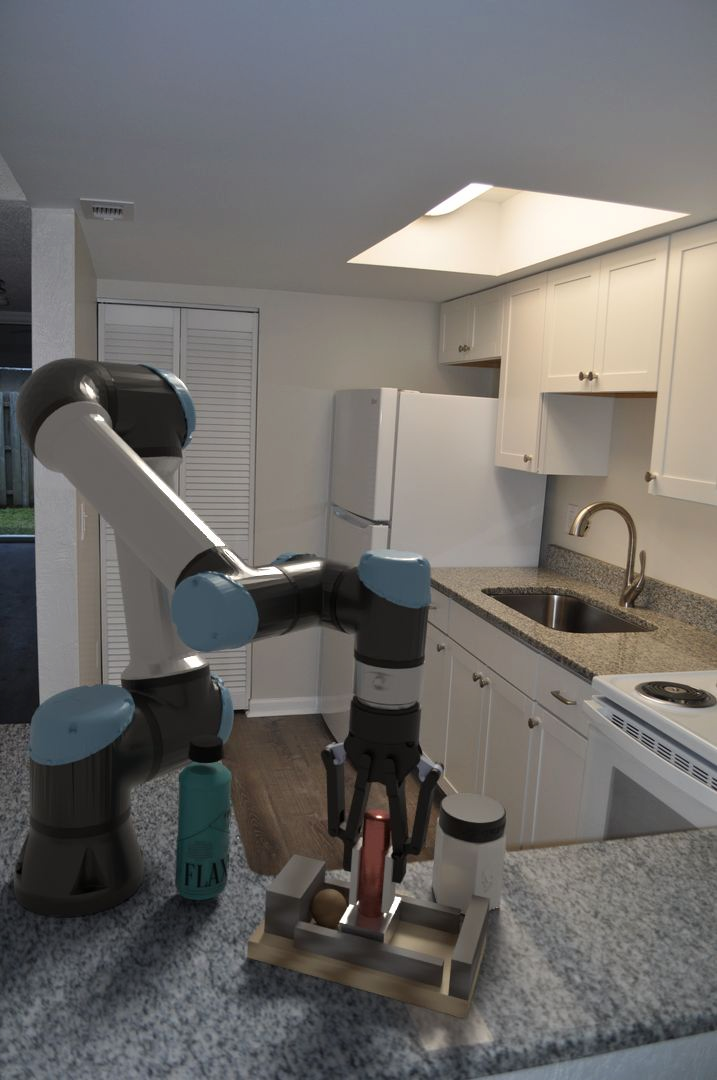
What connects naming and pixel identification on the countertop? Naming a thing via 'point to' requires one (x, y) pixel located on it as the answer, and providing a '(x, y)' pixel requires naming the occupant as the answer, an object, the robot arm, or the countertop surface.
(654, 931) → the countertop surface
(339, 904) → the nut
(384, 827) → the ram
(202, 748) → the beverage bottle
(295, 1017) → the countertop surface
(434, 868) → the jar
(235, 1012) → the countertop surface
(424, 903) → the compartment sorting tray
